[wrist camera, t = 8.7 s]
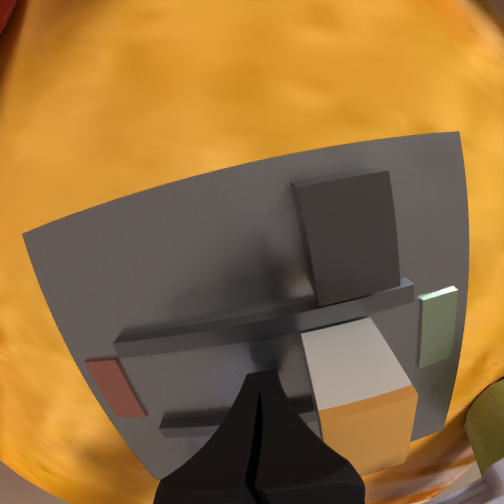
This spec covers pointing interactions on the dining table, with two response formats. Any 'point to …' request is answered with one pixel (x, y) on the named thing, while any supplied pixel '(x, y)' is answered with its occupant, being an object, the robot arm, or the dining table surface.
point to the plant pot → (487, 426)
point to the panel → (261, 283)
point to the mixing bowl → (6, 12)
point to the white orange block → (360, 395)
